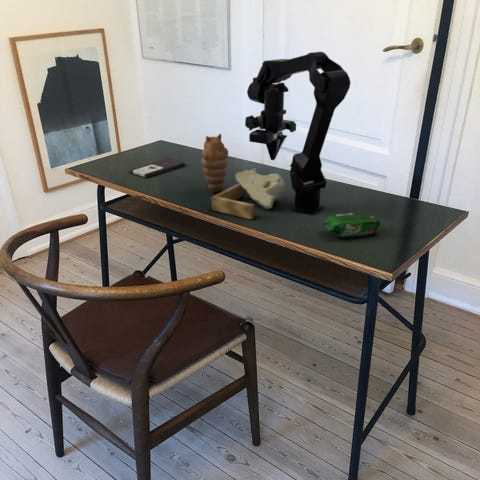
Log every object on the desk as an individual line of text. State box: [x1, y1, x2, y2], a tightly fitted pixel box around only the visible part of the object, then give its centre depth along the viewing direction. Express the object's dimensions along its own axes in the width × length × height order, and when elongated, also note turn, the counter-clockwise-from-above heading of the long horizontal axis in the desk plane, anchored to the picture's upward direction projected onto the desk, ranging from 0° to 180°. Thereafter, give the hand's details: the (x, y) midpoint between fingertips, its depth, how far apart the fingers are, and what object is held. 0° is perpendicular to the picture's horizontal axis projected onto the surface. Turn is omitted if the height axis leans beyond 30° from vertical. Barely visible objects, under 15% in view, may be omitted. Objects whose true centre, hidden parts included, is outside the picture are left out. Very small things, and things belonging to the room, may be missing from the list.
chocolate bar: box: [129, 157, 186, 178], centre depth 190 cm, size 9×1×18 cm
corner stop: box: [210, 182, 255, 220], centre depth 157 cm, size 14×14×4 cm
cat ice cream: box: [200, 133, 229, 193], centre depth 165 cm, size 9×8×18 cm
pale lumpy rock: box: [234, 168, 286, 210], centre depth 160 cm, size 15×7×15 cm
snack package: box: [322, 211, 381, 238], centre depth 139 cm, size 7×16×5 cm, turn 103°
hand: (272, 159), depth 164 cm, fingers closed
